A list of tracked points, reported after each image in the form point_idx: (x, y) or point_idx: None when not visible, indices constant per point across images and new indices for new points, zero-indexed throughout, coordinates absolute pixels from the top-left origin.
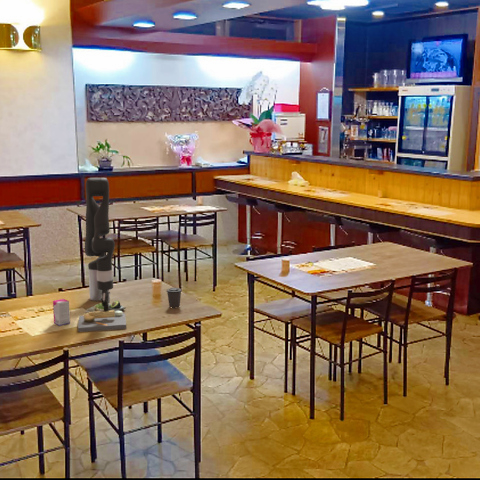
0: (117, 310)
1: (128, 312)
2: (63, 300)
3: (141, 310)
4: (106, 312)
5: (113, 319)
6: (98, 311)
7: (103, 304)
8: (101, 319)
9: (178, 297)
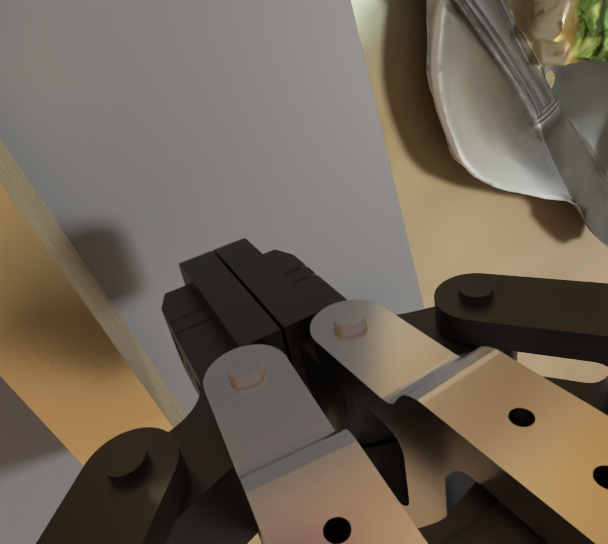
0: (558, 191)
1: None
2: None
3: (567, 368)
4: (65, 438)
5: None
6: (10, 239)
7: (123, 535)
8: (69, 201)
9: None
